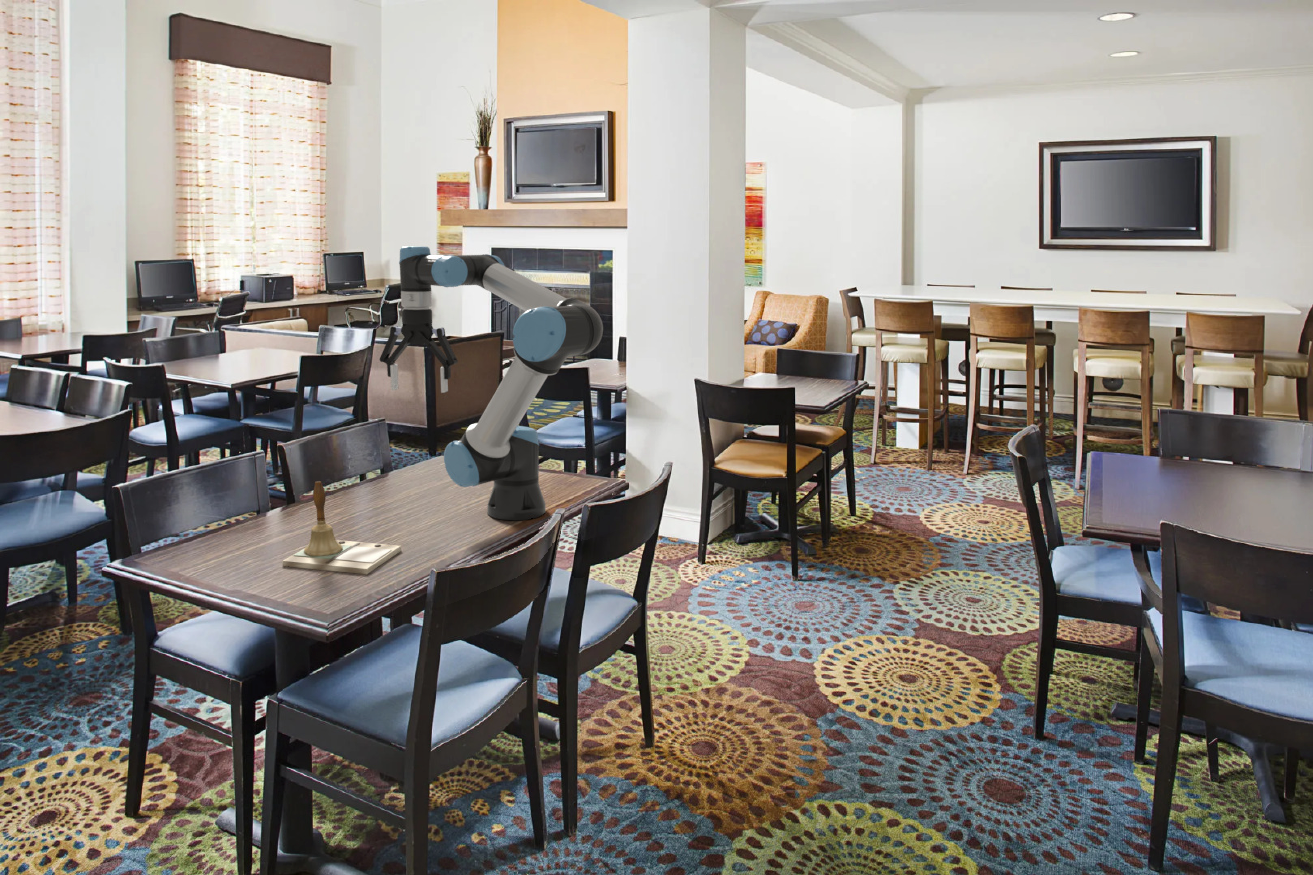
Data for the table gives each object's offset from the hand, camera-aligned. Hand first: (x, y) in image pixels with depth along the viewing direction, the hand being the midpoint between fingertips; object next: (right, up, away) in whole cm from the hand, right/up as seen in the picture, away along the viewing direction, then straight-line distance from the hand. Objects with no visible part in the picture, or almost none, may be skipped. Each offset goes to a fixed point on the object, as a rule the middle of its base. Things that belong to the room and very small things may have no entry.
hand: (419, 390), depth 248 cm
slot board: (-9, -39, -33) cm, 52 cm away
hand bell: (-14, -38, -32) cm, 51 cm away
